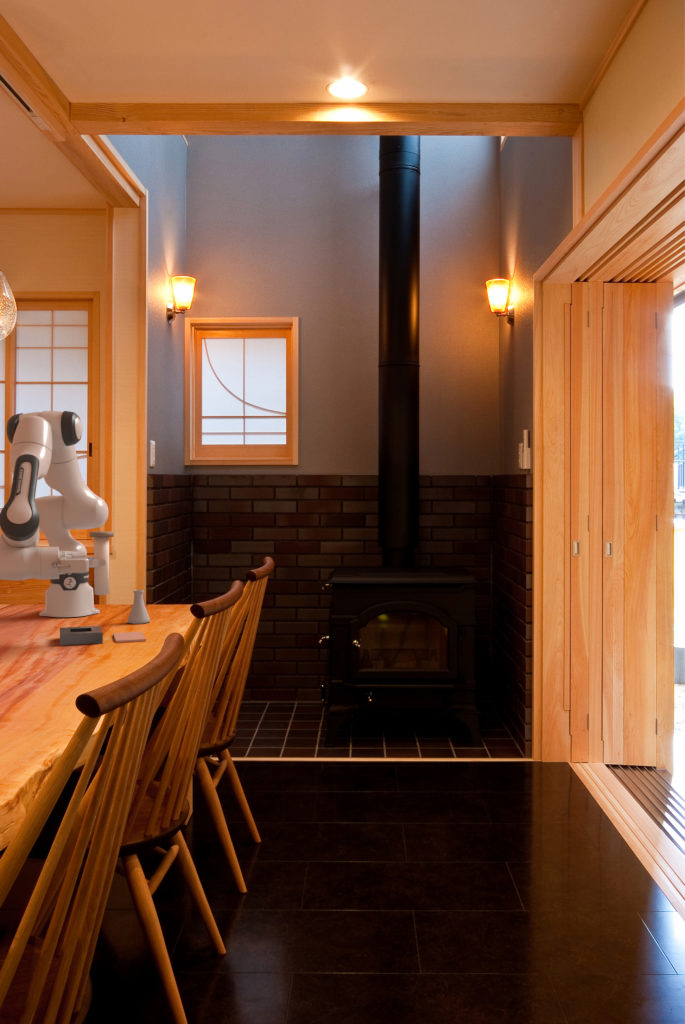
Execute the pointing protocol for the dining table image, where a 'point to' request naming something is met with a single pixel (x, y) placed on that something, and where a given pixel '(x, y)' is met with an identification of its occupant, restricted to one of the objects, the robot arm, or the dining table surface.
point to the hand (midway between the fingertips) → (105, 561)
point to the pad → (129, 637)
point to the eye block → (81, 635)
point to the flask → (138, 609)
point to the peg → (101, 553)
